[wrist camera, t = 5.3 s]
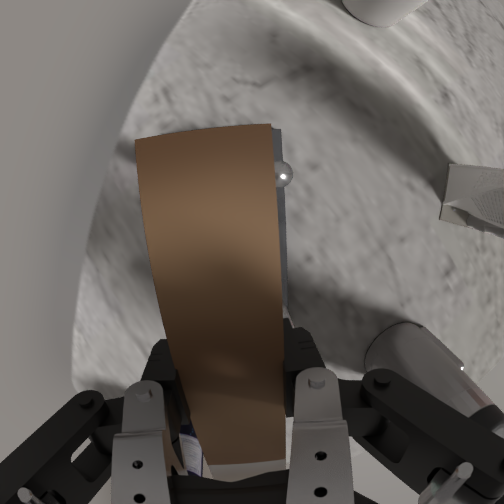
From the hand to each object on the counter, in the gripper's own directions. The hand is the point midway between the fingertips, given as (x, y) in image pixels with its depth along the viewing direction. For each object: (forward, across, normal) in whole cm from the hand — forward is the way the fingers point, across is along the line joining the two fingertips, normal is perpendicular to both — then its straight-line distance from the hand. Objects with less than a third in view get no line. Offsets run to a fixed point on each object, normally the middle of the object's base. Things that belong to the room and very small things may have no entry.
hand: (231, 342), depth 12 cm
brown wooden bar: (0, 0, 0) cm, 0 cm away
